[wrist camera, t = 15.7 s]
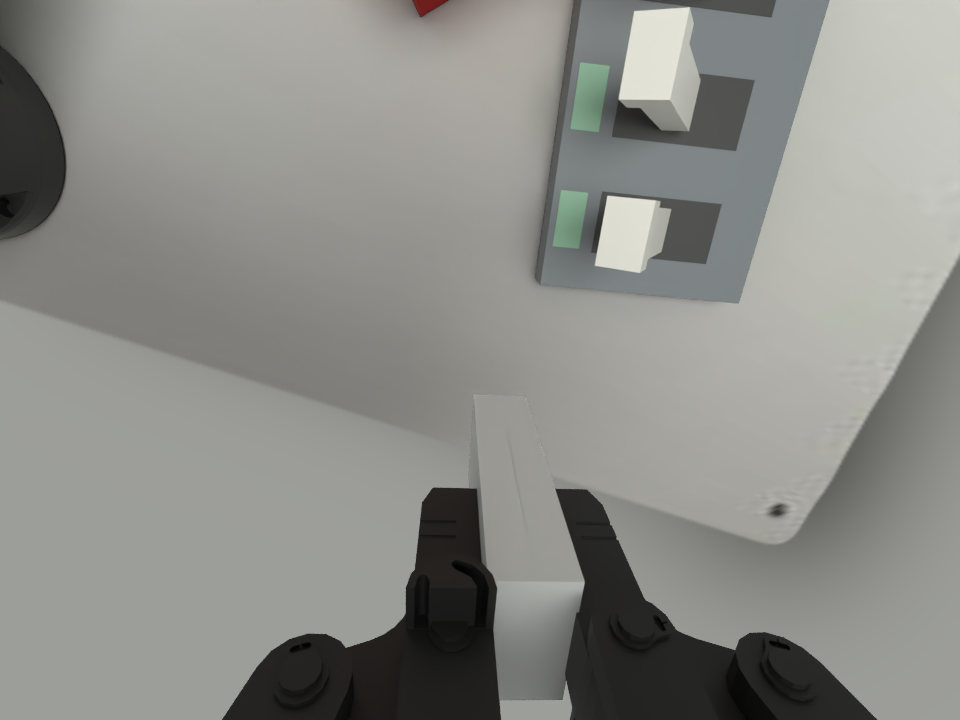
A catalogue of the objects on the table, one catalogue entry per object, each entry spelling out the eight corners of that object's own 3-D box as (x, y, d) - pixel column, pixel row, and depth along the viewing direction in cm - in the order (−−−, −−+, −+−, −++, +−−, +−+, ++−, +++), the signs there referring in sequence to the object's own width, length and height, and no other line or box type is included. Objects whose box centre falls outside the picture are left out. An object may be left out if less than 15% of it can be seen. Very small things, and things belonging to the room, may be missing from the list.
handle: (655, 135, 32) (618, 99, 22) (668, 75, 31) (634, 11, 21) (692, 136, 31) (669, 99, 21) (706, 75, 30) (689, 7, 20)
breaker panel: (535, 277, 39) (540, 284, 36) (591, -125, 30) (604, -158, 27) (719, 295, 40) (739, 303, 37) (828, -90, 31) (865, -119, 28)
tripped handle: (631, 251, 35) (594, 265, 25) (642, 201, 34) (607, 195, 24) (664, 256, 34) (639, 272, 24) (676, 205, 33) (655, 200, 23)
